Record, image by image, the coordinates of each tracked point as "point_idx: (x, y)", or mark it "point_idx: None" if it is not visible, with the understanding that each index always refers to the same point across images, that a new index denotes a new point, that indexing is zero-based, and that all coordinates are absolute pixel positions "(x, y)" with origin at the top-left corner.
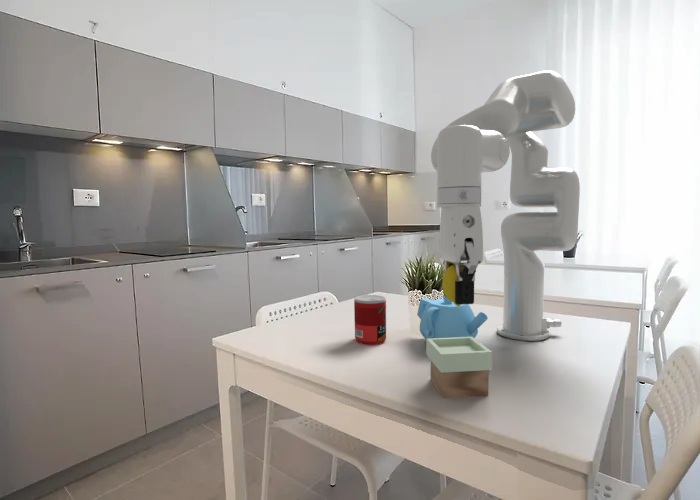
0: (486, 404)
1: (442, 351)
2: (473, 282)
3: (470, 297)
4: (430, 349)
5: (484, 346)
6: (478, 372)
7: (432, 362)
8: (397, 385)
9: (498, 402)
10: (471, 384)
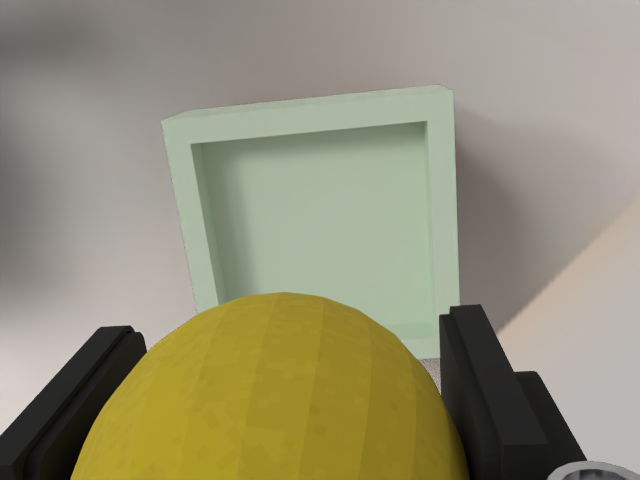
0: (486, 120)
1: (418, 341)
2: (539, 438)
3: (539, 379)
4: None
5: (354, 104)
6: None
7: None
8: None
9: (475, 67)
10: None
